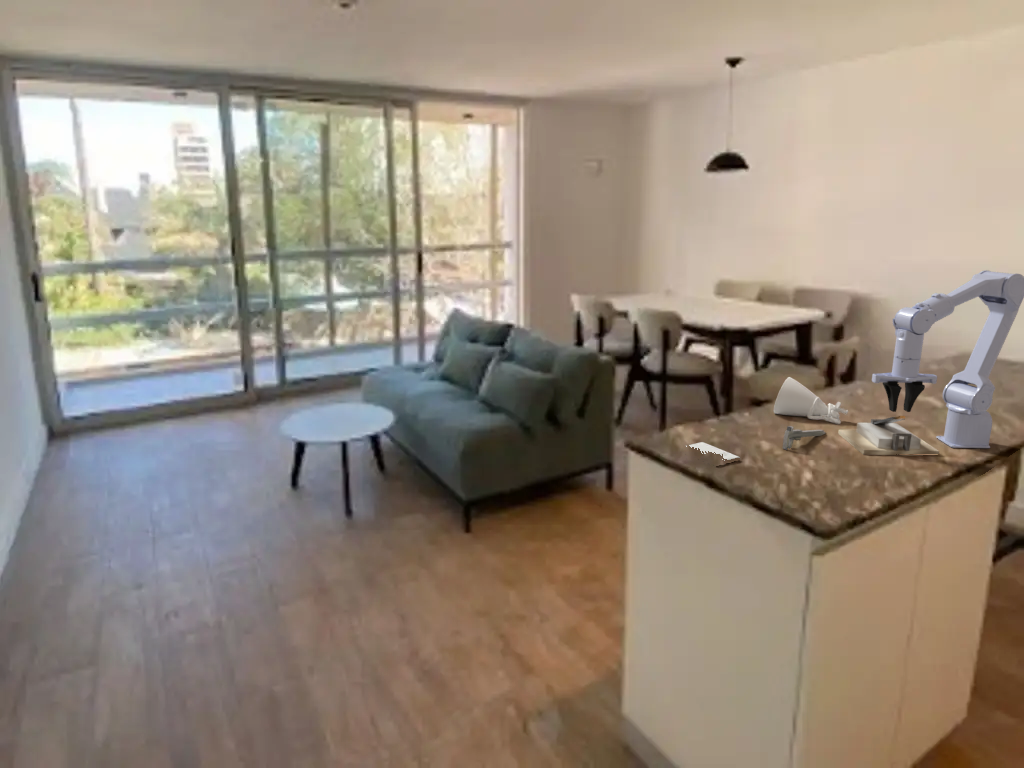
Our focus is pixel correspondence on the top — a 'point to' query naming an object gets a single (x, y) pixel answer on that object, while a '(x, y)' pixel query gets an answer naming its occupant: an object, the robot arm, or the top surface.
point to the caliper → (798, 435)
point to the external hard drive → (713, 450)
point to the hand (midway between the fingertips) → (899, 410)
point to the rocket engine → (804, 403)
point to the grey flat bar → (890, 420)
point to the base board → (881, 451)
